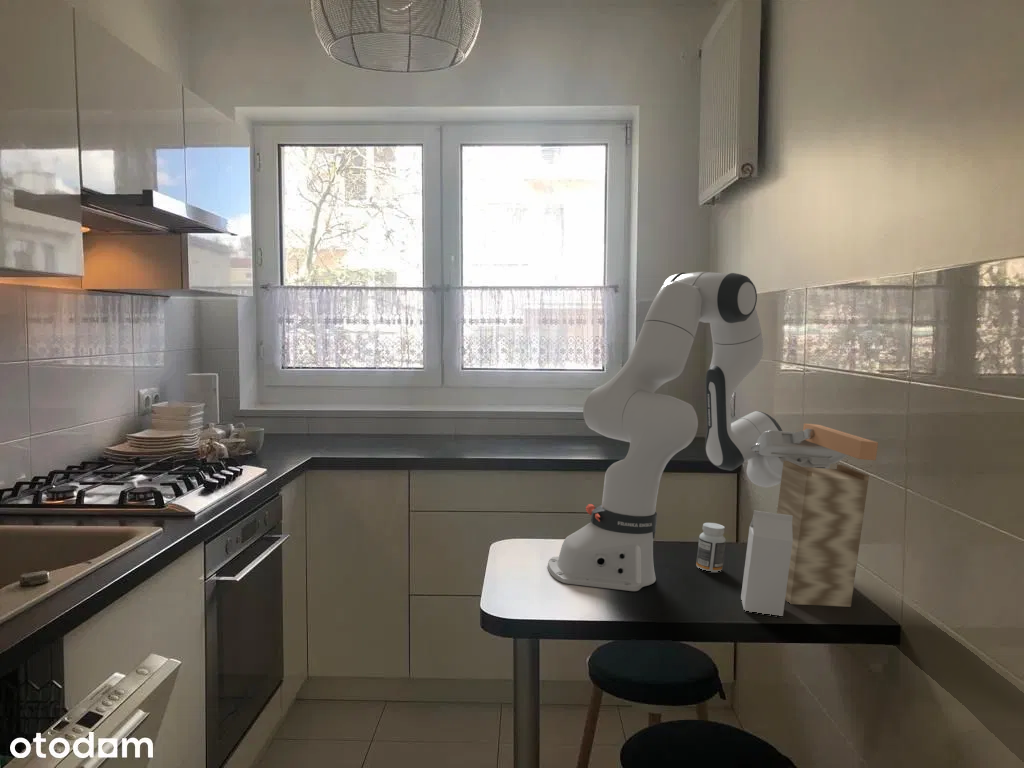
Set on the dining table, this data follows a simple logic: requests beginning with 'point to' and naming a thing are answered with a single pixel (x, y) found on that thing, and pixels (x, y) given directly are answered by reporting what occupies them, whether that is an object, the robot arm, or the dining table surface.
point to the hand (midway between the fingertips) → (822, 433)
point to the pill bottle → (711, 547)
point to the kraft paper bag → (823, 531)
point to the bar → (843, 442)
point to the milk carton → (767, 563)
